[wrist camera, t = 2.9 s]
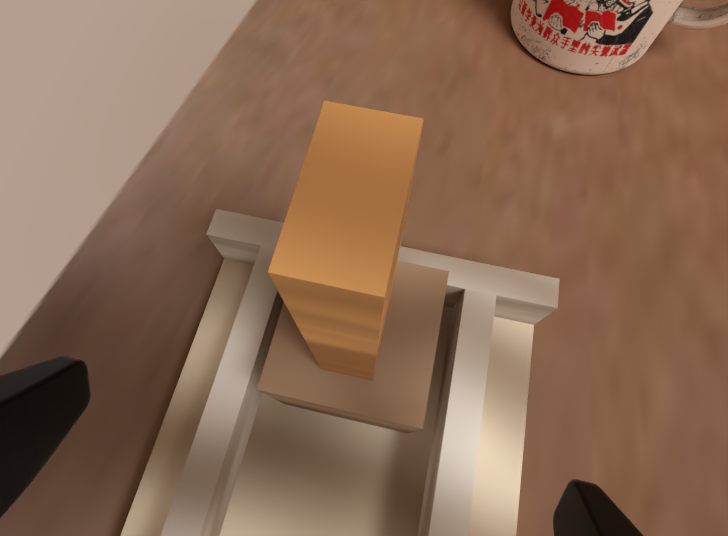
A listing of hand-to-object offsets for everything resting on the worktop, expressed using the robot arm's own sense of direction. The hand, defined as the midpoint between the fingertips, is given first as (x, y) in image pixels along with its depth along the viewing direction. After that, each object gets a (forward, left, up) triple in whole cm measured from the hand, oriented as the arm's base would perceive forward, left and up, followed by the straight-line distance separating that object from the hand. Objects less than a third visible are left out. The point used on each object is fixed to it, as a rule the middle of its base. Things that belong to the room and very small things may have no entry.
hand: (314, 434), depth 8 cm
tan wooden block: (+3, 0, -10) cm, 11 cm away
